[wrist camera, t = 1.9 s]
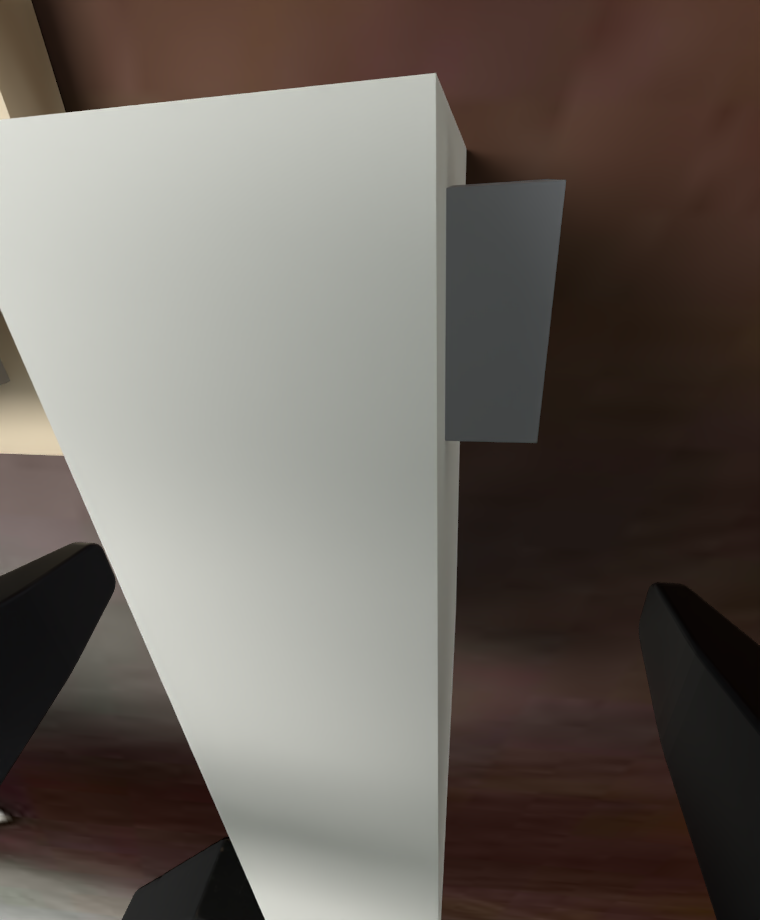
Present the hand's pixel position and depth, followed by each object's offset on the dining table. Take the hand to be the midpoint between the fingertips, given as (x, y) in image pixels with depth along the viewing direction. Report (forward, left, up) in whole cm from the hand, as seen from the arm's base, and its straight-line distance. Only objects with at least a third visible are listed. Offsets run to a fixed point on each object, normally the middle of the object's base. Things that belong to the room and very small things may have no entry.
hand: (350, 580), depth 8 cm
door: (0, 0, -5) cm, 5 cm away
